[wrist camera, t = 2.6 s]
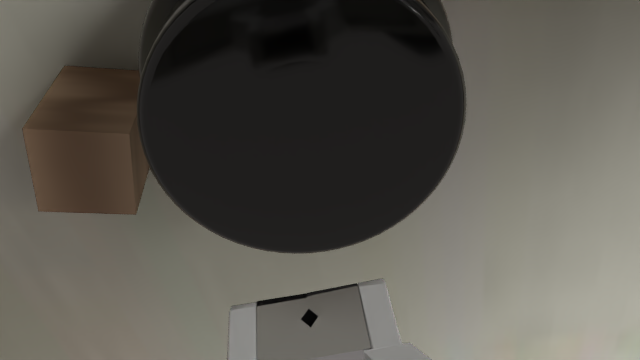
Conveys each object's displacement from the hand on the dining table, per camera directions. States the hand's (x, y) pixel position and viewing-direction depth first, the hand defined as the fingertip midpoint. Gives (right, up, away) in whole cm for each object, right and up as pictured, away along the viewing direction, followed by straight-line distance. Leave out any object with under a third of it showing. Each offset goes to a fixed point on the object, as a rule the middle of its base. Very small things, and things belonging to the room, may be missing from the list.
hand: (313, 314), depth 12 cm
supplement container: (-1, +11, +16) cm, 19 cm away
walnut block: (-10, +6, +18) cm, 21 cm away
